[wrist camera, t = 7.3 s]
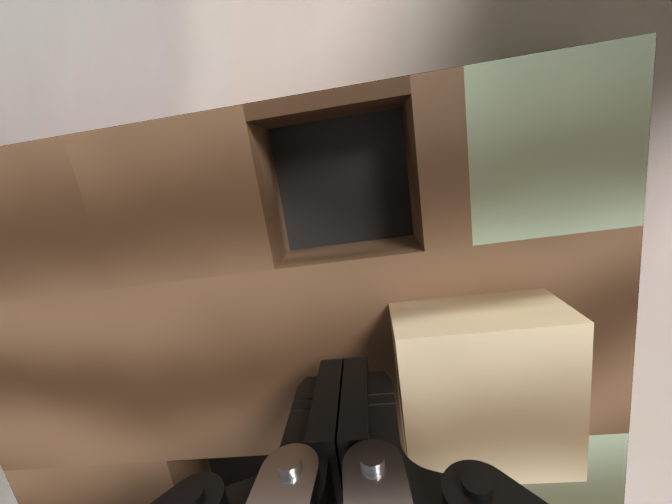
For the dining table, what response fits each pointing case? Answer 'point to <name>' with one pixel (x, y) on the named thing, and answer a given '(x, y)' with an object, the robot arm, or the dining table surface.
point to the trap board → (306, 260)
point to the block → (496, 383)
